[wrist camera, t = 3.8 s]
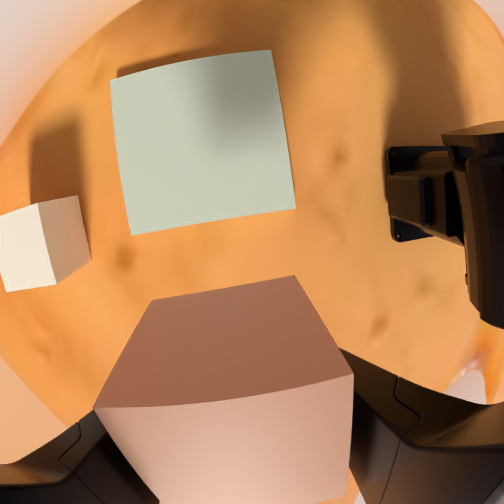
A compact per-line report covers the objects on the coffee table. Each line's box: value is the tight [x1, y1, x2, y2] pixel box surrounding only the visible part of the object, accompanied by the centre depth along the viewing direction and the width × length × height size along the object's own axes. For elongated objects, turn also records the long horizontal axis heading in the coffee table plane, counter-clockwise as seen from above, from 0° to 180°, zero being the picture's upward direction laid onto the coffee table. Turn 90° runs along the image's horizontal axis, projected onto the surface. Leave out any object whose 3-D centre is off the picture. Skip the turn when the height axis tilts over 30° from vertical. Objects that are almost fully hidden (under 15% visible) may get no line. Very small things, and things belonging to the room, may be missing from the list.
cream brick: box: [0, 195, 92, 292], centre depth 16 cm, size 4×4×5 cm
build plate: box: [110, 50, 296, 236], centre depth 17 cm, size 10×10×1 cm
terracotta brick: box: [93, 275, 354, 504], centre depth 7 cm, size 4×4×5 cm
